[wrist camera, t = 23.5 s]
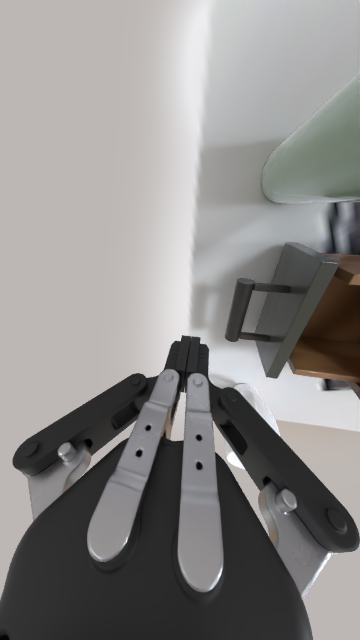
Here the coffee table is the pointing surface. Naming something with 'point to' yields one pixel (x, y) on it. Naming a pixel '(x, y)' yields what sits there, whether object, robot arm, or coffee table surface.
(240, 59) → the coffee table surface
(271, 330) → the drawer
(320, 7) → the coffee table surface
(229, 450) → the mug
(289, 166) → the green cylinder
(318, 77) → the coffee table surface
